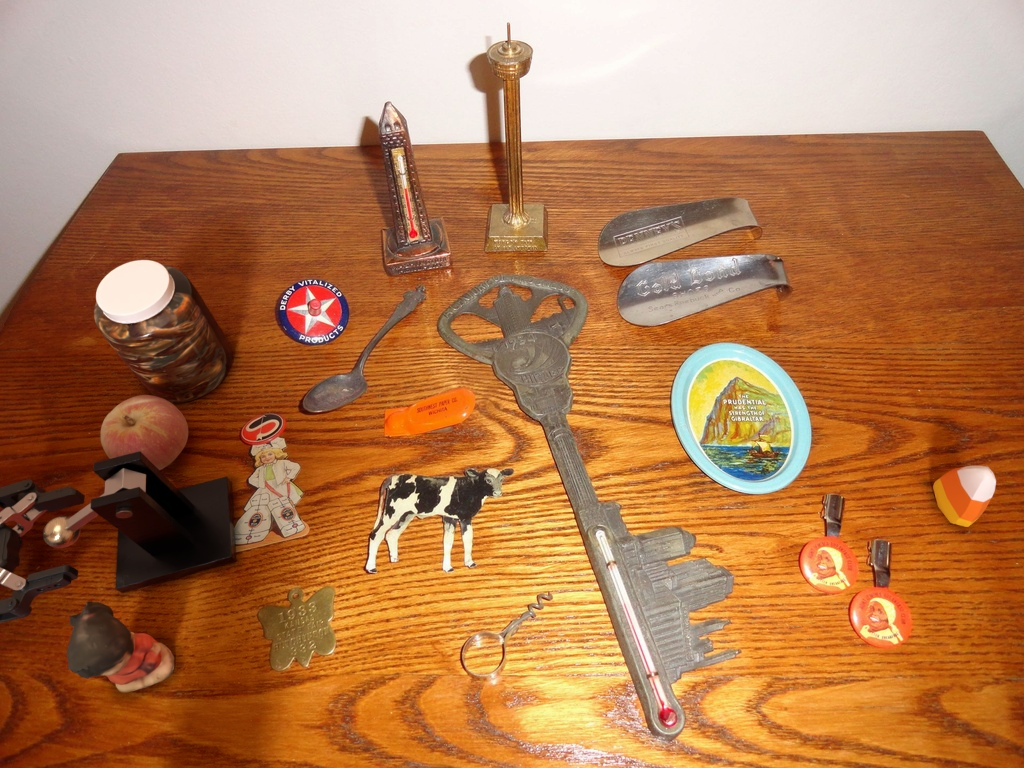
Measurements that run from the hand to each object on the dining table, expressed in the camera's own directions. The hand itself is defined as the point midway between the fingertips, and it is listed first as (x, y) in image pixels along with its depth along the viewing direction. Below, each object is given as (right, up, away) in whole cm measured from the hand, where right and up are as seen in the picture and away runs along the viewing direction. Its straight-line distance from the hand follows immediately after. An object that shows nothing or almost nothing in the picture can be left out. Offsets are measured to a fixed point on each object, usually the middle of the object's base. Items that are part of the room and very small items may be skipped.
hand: (77, 531), depth 71 cm
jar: (+2, +17, +20) cm, 26 cm away
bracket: (+7, -2, +6) cm, 10 cm away
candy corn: (+92, +2, +5) cm, 92 cm away
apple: (+2, +7, +13) cm, 14 cm away
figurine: (+8, -13, -2) cm, 15 cm away
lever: (+4, +2, -1) cm, 4 cm away
